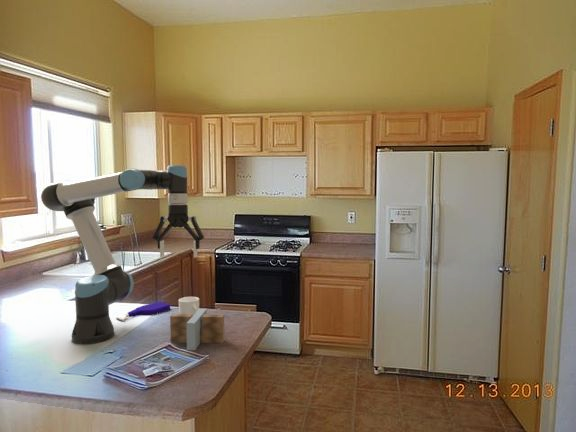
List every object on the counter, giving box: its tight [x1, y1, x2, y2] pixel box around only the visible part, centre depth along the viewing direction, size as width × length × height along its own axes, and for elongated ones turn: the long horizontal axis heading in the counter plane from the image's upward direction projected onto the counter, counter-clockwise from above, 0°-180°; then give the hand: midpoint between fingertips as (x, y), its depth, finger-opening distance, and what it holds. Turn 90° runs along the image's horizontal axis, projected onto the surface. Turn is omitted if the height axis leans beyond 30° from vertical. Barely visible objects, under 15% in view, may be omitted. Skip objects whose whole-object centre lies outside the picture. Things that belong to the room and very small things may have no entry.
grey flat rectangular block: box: [186, 308, 208, 351], centre depth 159 cm, size 3×18×10 cm, turn 177°
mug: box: [178, 296, 200, 315], centre depth 179 cm, size 9×12×11 cm
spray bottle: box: [115, 301, 171, 322], centre depth 194 cm, size 3×11×24 cm
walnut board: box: [169, 313, 225, 344], centre depth 159 cm, size 20×3×10 cm, turn 87°
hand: (178, 257), depth 168 cm, fingers open, 13 cm apart
